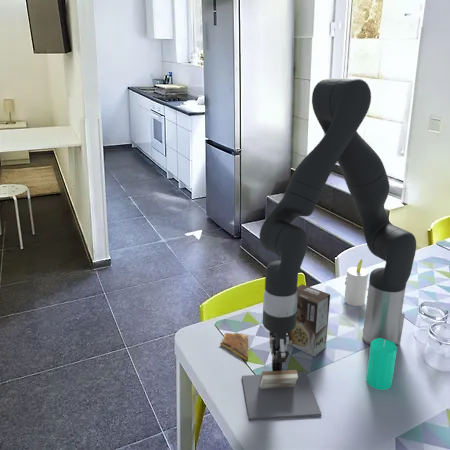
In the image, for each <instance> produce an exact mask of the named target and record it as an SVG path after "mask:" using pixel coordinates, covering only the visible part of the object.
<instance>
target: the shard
mask: <svg viewBox="0 0 450 450" xmlns="http://www.w3.org/2000/svg"><path fill="white" fill-rule="evenodd" d="M220 346H221V347H223V348H226V349H227V350H229V351H231V352H232V354H234V355H236V356H237V357H239V358H241V359H243V360H245V361H249V360H248V359H249V338H248V335H246V334H243V333H228V332H227V333H226V332H225V333H224V335H223V339H222V341H221V342H220Z"/></svg>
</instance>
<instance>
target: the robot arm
mask: <svg viewBox="0 0 450 450" xmlns="http://www.w3.org/2000/svg"><path fill="white" fill-rule="evenodd" d="M371 102H372V92H371V89H370V86H369V84H368V83H367V82H366V81H365V80H364V79H361V78H358V77H356V78H355V77H339V78H338V77H335V78H334V77H332V78H331V77H330V78H326V79H322V80H320V81H319V82H318V83H316V84H315V86H314V88H313V91H312V95H311V105H312V110H313V113H314V116H315V117H316V119H317V122H318V123H319V125H320V127H321V129H322V131H323V133H324V135H323V137H322V138H321V140H320V141H319V142H318V143H317V144H316V145H315V147H314V148H313V149H312V150H311V151H310V152H309V153H308V154H306V156H305V157H304V158H303V159H302V160H301V162H300V163H299V164H298V166H297V167H296V168H295V170H294V171H293V173H292V174H291V175H292V176H291V178H290V179H289V183H288V185H287V187H286V189H285V192H284V193H283V196H282V198H281V200H280V201H279V202H278V203H277V204H276V206H275V207H274V208H273V209H272V211H271V212H270V214H269V215H268V216H267V217H266V218H265V220H264V222H263V224H262V225H261V227H260V229H259V243H260V244H261V247H263V248H264V249H265V250H267V251H269V252H271V253H273V254H276V255H278V256H280V260H273V261H270V262H269V263H268V264H267V265H266V268H265V272H264V273H265V274H264V275H265V278H264V279H265V280H264V291H263V297H262V298H263V301H262V304H263V305H262V325H263V327H264V328H265V329H266V330H267V331H268V335H269V347H270V348H269V349H270V350H271V352H270V355H271V356H272V357H271V368H272V369H271V371H283V364H285V363H286V362H287V361H288V358H289V356H290V352H289V351H288V344H287V343H288V341H289V336H288V335H287V333H288V332H290V331H292V330H293V329H294V328H295V326H296V315H297V287H298V281H299V280H298V279H299V272H300V270H301V266H302V264H303V261H304V258H305V256H306V253H307V251H308V246H309V239H308V235H307V233H306V231H305V230H304V229H303V228H302V227H301V226H297V225H295V224H293V223H292V222H293V221H294V220H295V219H296V218H297V217H310V216H311V215H313V212H314V211H315V209H316V206H317V205H318V202H319V199H320V197H321V196H322V195H321V194H322V193H323V189H324V188H325V186H326V184H327V181H328V178H329V177H330V175H331V172H333V169H334V168H335V166H336V165H337V163H338V165H339V167H340V169H341V173H342V175H343V179H344V181H345V184H346V186H347V188H348V191H349V193H350V194H349V195H350V196H351V198H352V201H353V203H354V207H355V209H356V211H357V214H358V217H359V219H360V222H361V227H362V230H363V234H364V239H365V243H366V245H367V248H368V250H369V252H370V253H371V254H372V255H374V256H375V257H377V258H379V259H381V260H382V261H384V262H385V266H384V267H378V268H374V269H372V271H371V272H370V274H369V278H368V279H369V280H368V289H367V296H366V297H367V298H366V305H365V313H364V314H365V315H364V321H363V328H362V339H363V341H364V342H365V343H366V344H367V345H369V346H371V341H373V340H374V339H377V338H382V339H385V340H389V341H392V342H394V344H395V345H396V346H397V345H400V344H401V340H402V335H403V327H404V322H405V313H404V311H403V305H404V300H405V293H406V288H407V287H406V286H407V283H408V281H409V279H410V277H411V274H412V268H413V265H414V260H415V257H416V251H417V239H416V236H415V235H414V234H413V233H412V232H410V231H408V230H406V229H403V228H401V227H399V226H396V225H395V224H392V223H391V221H390V220H389V218H388V215H387V212H386V210H385V204H386V201H387V199H388V197H389V192H390V187H391V185H390V181H389V178H388V174H387V171H386V168H385V165H384V162H383V160H382V159H381V158H380V156H379V155H378V154H377V152H376V151H375V150H374V149H373V148H372V147H371V146H370V145H369V143H368V142H366V140H365V139H364V138H363V137H362V136H361V135H360V134H359V132H357V131H358V129H359V127H360V126H361V125H362V123H363V121H364V120H365V117H366V115H367V114H368V112H369V109H370V106H371V104H372V103H371Z"/></svg>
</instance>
